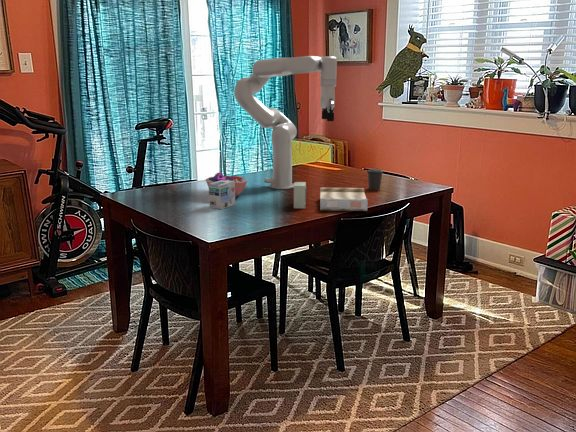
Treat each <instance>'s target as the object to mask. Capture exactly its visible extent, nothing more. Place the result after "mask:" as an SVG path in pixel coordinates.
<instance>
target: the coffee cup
mask: <svg viewBox="0 0 576 432" xmlns="http://www.w3.org/2000/svg"><path fill="white" fill-rule="evenodd" d="M366 172H367V179H368V190H370V191H379V189H380V190H381V185H382V178H383V177H382V176H383V173H384V171H383V169H378V168H370V169H368V170H366Z"/></svg>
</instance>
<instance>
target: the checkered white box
mask: <svg viewBox="0 0 576 432" xmlns="http://www.w3.org/2000/svg"><path fill="white" fill-rule="evenodd" d="M319 190H320V191H319V200H320V201H319V209H320V211H339V212H341V211H342V212H345V211H346V212H347V211H348V212H349V211H350V212H353V211H356V212H368V202H369V201H368V200H369V199H368V198H367V196H366V194H365V188H364V187H320V189H319Z"/></svg>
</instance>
